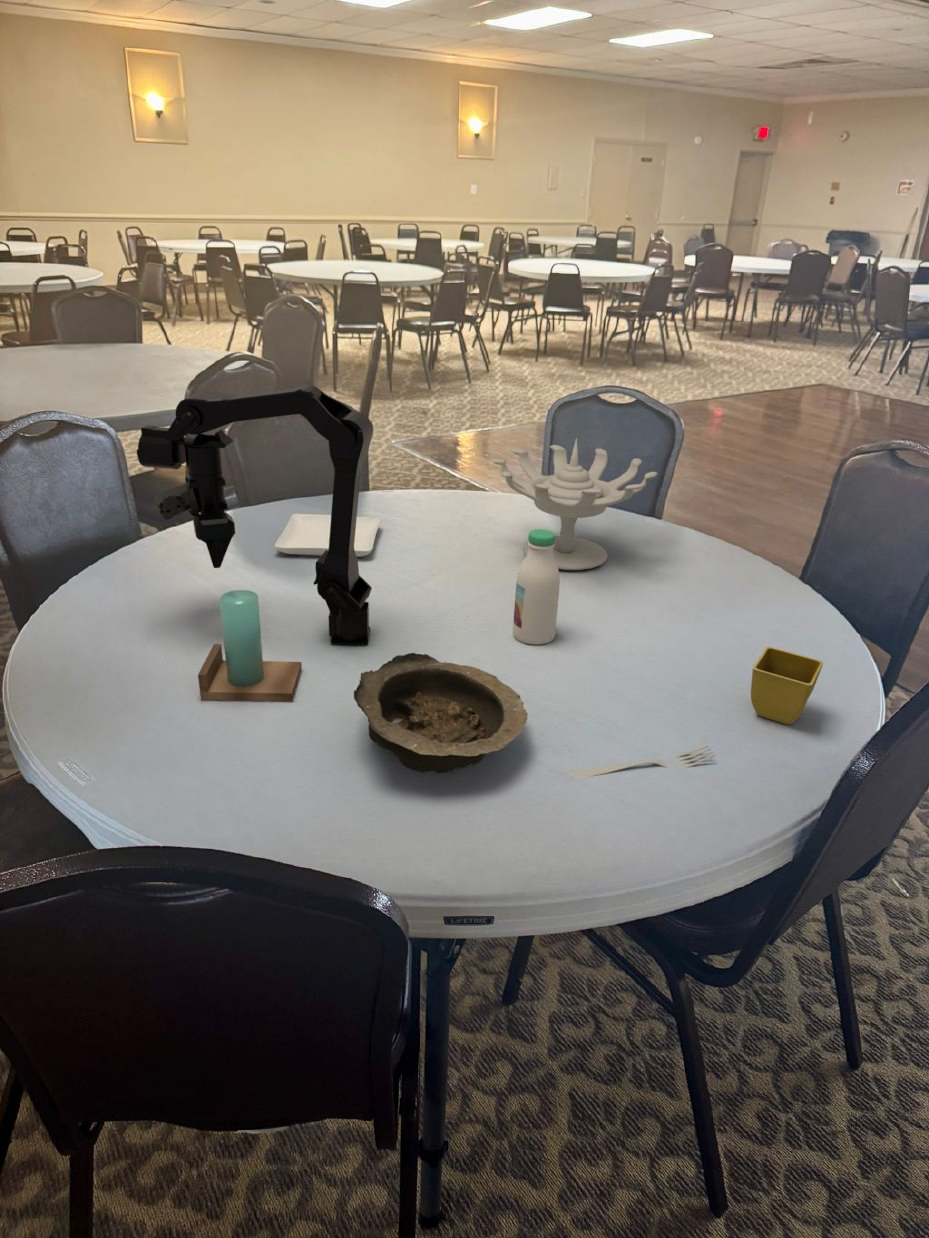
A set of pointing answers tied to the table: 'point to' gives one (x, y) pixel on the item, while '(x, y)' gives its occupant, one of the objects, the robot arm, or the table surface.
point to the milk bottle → (537, 591)
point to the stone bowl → (438, 712)
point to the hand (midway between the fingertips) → (213, 557)
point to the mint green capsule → (242, 637)
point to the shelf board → (272, 688)
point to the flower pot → (783, 684)
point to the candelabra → (573, 499)
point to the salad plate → (323, 535)
